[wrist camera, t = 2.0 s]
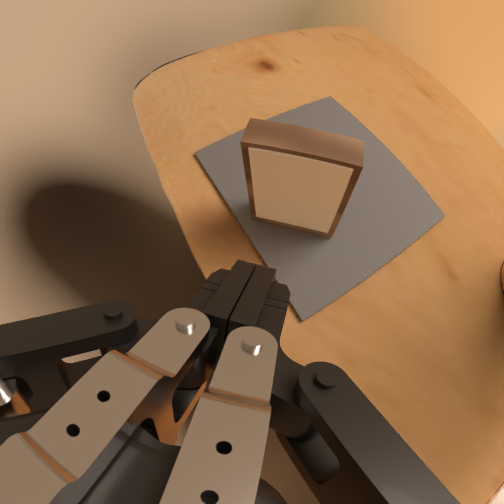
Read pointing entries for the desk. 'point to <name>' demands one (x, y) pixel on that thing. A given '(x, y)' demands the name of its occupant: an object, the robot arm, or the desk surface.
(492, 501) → the flat white fragment
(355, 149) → the walnut picture frame
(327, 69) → the desk surface
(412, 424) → the desk surface
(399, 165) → the desk mat
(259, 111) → the desk surface
